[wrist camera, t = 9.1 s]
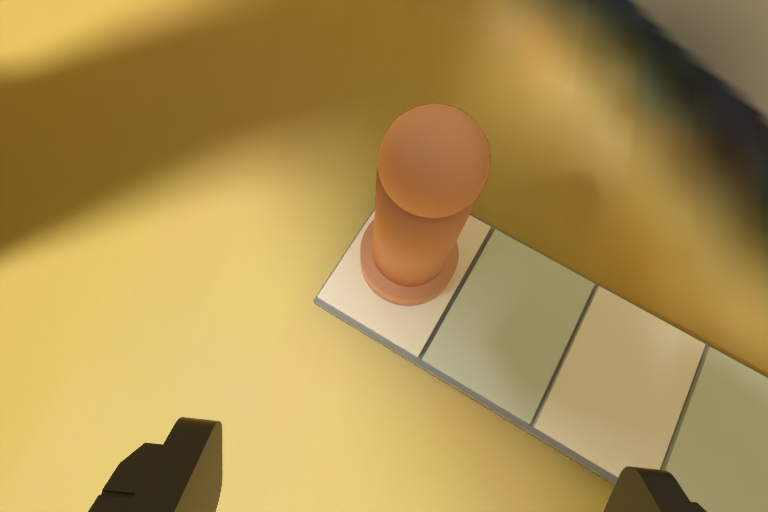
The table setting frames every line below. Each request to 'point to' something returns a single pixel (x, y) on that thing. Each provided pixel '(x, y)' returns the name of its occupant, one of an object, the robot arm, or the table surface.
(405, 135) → the pawn
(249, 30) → the table surface
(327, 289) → the track
